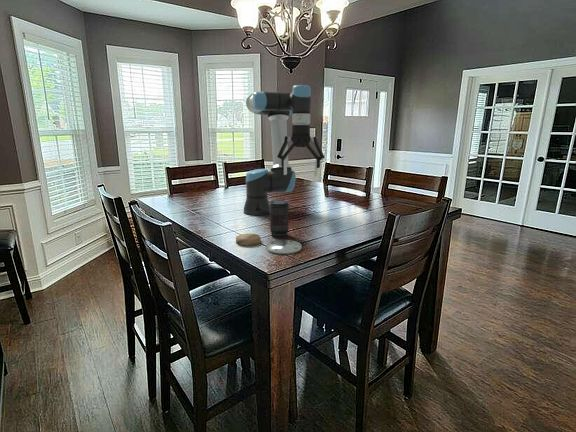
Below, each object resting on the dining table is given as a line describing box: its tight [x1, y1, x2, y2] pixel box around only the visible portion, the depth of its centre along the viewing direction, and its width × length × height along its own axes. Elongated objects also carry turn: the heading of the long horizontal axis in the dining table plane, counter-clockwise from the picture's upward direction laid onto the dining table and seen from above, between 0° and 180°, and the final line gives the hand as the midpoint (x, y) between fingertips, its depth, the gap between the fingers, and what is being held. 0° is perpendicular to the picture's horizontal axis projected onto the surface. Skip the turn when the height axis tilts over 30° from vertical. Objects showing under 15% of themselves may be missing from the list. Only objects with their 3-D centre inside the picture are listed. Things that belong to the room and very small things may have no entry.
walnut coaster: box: [235, 233, 262, 247], centre depth 139 cm, size 10×10×2 cm
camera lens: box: [269, 200, 290, 239], centre depth 146 cm, size 8×8×15 cm
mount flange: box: [265, 239, 303, 256], centre depth 133 cm, size 14×14×1 cm
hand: (300, 175), depth 148 cm, fingers open, 13 cm apart
